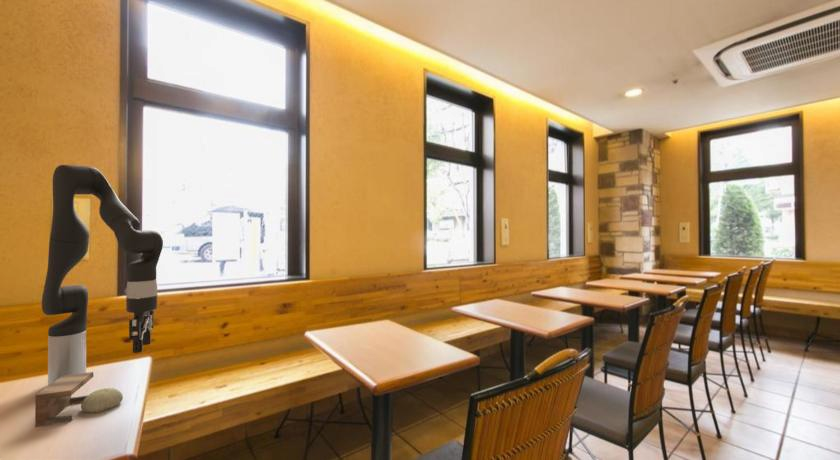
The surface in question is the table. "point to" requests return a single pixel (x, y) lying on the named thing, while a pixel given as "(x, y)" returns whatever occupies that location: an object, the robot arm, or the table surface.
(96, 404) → the sea urchin shell
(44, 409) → the shelf
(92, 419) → the table surface
